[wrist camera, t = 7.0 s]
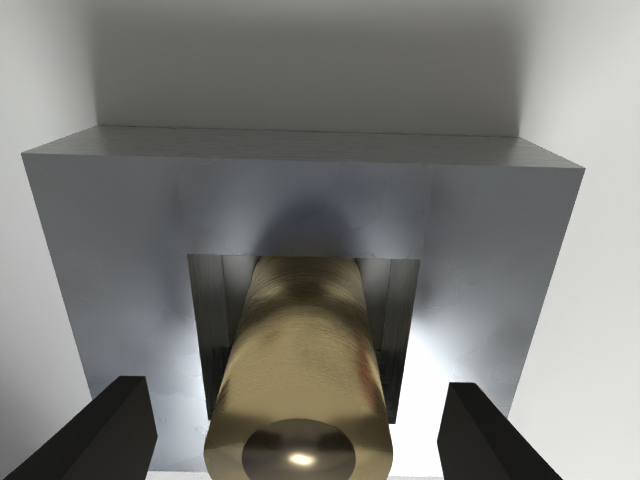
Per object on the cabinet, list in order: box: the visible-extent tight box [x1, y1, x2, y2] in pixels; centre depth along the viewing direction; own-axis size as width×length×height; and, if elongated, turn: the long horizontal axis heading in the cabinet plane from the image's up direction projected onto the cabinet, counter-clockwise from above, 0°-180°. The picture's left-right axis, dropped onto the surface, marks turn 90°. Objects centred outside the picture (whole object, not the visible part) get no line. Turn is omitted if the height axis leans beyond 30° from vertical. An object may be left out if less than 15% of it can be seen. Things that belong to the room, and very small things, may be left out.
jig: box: [21, 126, 586, 477], centre depth 13 cm, size 13×11×4 cm
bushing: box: [203, 256, 394, 480], centre depth 12 cm, size 4×4×7 cm
